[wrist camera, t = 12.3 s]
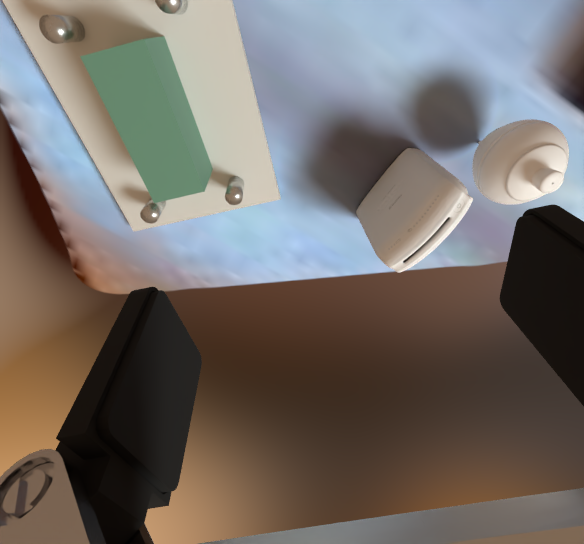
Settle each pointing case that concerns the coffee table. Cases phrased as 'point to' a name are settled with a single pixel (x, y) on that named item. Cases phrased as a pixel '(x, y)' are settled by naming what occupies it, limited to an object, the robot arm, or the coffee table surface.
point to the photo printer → (412, 209)
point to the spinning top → (520, 162)
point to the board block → (152, 116)
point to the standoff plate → (195, 80)
